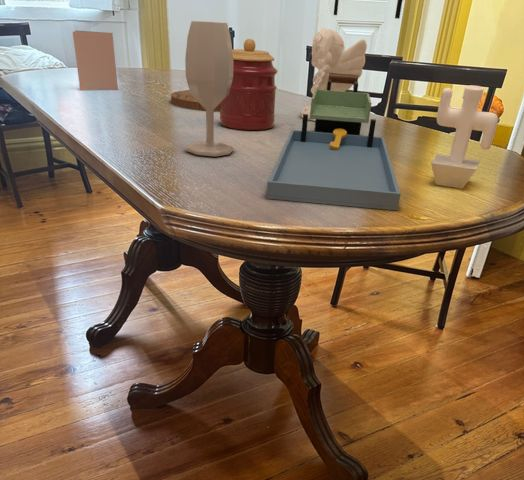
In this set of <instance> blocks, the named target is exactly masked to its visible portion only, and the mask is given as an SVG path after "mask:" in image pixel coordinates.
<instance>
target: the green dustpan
mask: <svg viewBox="0 0 524 480" xmlns="http://www.w3.org/2000/svg"><path fill="white" fill-rule="evenodd" d="M331 83H343V84H354V85H352V90H353V91H345V92H344V91H331ZM358 90H359V78H358V75H352V74H338V73H329V79H328V83H327V90H317V89H315V91H314V94H312V97H311V101H310V103H311V110H310V119H321V120H334V121H346V122H359V123H361V124H369V121H370V117H371V110H372V109H371V108H372V100H371V96H370V94H369V92H358ZM316 104H317V105H316ZM329 105H330V106H329Z"/></svg>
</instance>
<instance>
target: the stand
mask: <svg viewBox="0 0 524 480" xmlns="http://www.w3.org/2000/svg"><path fill="white" fill-rule="evenodd" d="M308 121H309V120H308V114H303V118H302V121H301V123H302V124H301V131H302V133H301V142H306V132H307V131H308ZM376 122H377V119H375V118H370V123H369V129H368V135H367V136H368V142H367V147H369V148H372V143H373V137H375V136H374V135H375V130H376V124H377V123H376ZM338 128H341V129H344V130H346V132H347V134H349V135H361V129H362V123H359V122H346V121H334V120H321V119H316V121H314V132H324V133H333V131H334V130H335V129H338Z"/></svg>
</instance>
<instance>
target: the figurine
mask: <svg viewBox="0 0 524 480" xmlns="http://www.w3.org/2000/svg"><path fill="white" fill-rule="evenodd" d="M484 90H485V89H484V88H483V87H482V86H481V85H473V84H469V85H468V86H465V87H464V89H463V93H462V104H461V107H460V108H454V107H451V101H452V97H453V89H452V88H451V87H445V88H443V90H442V91H441V95H440V100H439V103H438V108H437V113H436V123H437V125H438V126H441V127H447V128H454V129H455V133H454V137H453V141H452V145H451V148H450V152H449V155H446V154H438V153H436V155H435V156H434V158H433V159H432V161H431V162H430V165H431V169H432V174H433V178H434V183H435V185H436V186H442V187H449V188H454V189H461V190H462V189H463V188H464V187H465V186H466V185H467V183H468V182H469V180H470V179H471V178H472V177H473V175H474V174H475V172H477V170H478V168H479V164H480V162H481V160H480V159H473V158H467V157H466V154H467V151H468V146H469V143H470V139H471V135H472V131H478V132H482V138H481V142H480V149H482V150H486V151H487V150H489V149H490V148H491V147H492V144H493V141H494V137H495V134H496V130H497V126H498V121H499V117H498V115H497V114H496V113H494V112H488V111H481V110H478V108H479V105H480V102H481V100H482V98H483V95H484Z"/></svg>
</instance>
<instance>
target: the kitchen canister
mask: <svg viewBox="0 0 524 480" xmlns="http://www.w3.org/2000/svg"><path fill="white" fill-rule="evenodd" d="M232 52H233V80H232V84H231V88H230V92H229V95H228V96H227V97H226V98H225V99H224V100H223V101H222V102H221V110H220V111H219V120H220V124H221V126H223V127H226V128H229V129H235V130H242V131H243V130H244V131H261V130H263V131H264V130H268V129H272V128H273V127H274V124H275V117H276V115H275V108H276V91H277V86H276V81H275V79H276V75H277V74H278V69H277V68H276V67H275V66H274V64H273V62H274V61H275V57H274V56H272V55H271V54H270V53H269V51H266V50H258V49H256V42H255V40H254V39H253V38H246V39H245V41H244V42H243V49H242V48H241V49H239V48H237V49H236V48H235V49H233V48H232Z"/></svg>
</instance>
